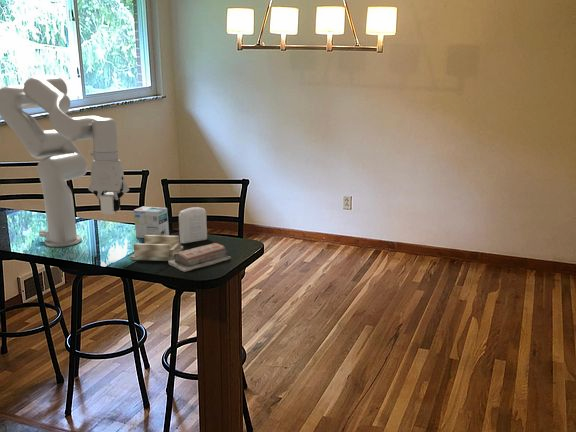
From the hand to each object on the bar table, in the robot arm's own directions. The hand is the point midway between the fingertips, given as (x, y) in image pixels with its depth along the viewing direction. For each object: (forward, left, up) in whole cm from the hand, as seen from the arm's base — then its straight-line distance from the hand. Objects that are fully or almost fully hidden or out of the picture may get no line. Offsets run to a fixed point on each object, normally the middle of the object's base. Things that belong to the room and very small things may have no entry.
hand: (110, 209), depth 201 cm
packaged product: (+32, -6, -16) cm, 36 cm away
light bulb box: (+7, +20, -15) cm, 26 cm away
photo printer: (+24, +16, -15) cm, 32 cm away
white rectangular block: (0, 0, -1) cm, 1 cm away
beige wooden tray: (+16, 0, -15) cm, 22 cm away
